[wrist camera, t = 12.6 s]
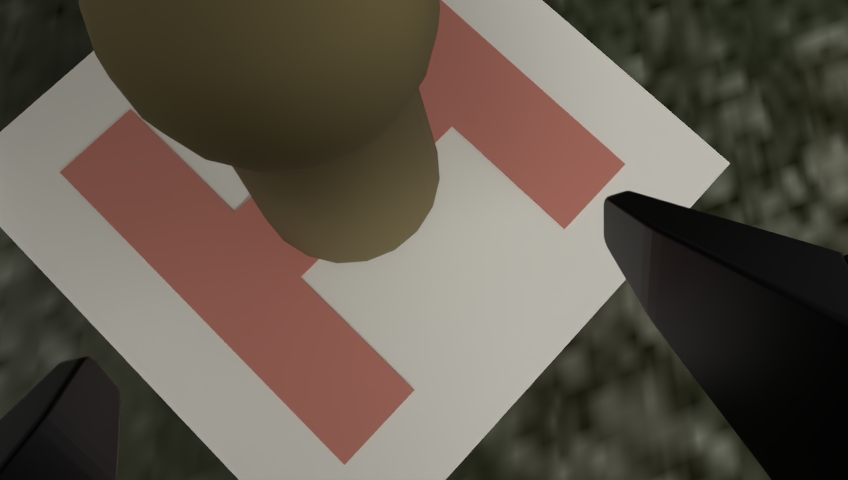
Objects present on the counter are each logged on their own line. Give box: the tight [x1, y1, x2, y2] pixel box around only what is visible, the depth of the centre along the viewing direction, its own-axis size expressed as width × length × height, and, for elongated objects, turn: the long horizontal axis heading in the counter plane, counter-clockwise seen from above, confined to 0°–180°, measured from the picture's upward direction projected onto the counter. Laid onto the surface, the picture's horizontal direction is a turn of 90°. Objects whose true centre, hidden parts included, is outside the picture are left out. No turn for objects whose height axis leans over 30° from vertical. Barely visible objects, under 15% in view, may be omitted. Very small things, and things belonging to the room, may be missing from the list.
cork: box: [79, 0, 440, 263], centre depth 12 cm, size 6×6×11 cm
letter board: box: [0, 0, 730, 480], centre depth 18 cm, size 18×18×1 cm
